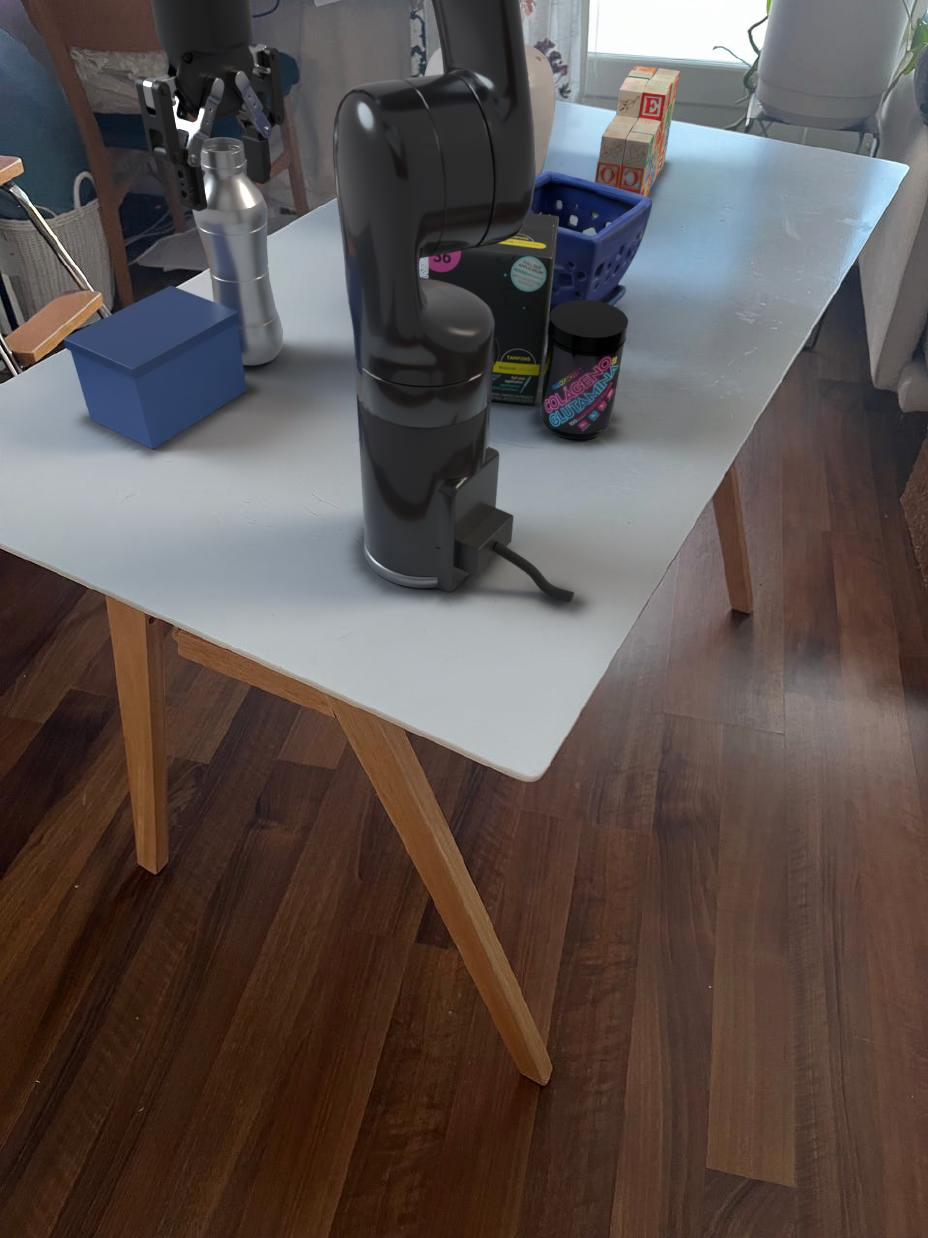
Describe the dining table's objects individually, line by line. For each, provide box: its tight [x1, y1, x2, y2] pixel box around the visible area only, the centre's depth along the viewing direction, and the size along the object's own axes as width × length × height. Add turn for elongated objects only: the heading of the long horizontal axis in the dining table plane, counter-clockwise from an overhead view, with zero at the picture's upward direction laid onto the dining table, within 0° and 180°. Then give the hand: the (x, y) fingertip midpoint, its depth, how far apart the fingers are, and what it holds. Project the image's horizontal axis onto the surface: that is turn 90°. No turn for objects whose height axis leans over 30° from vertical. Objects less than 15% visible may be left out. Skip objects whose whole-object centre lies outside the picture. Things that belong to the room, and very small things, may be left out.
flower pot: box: [529, 170, 653, 332], centre depth 98 cm, size 13×13×12 cm
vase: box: [423, 10, 557, 177], centre depth 111 cm, size 16×16×23 cm
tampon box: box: [427, 213, 559, 406], centre depth 87 cm, size 11×9×15 cm
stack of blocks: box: [594, 65, 681, 197], centre depth 125 cm, size 21×6×12 cm, turn 162°
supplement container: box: [539, 300, 629, 441], centre depth 83 cm, size 7×7×10 cm
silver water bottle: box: [191, 136, 284, 366], centre depth 86 cm, size 6×7×20 cm
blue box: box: [63, 285, 248, 450], centre depth 84 cm, size 8×12×8 cm
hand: (228, 193), depth 82 cm, fingers open, 7 cm apart
